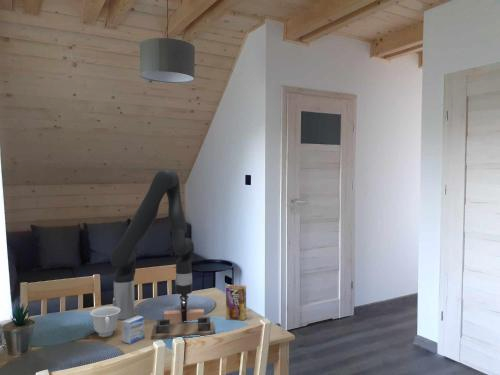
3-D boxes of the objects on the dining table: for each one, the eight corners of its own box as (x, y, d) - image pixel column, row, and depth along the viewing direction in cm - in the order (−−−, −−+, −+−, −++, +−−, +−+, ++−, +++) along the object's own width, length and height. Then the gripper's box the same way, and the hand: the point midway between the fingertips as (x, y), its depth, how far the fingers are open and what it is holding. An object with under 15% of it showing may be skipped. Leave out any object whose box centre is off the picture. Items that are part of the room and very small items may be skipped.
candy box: (246, 317, 192) (246, 285, 192) (244, 320, 188) (244, 287, 187) (228, 315, 194) (228, 284, 193) (225, 319, 190) (225, 286, 189)
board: (151, 339, 167) (151, 328, 167) (153, 328, 179) (153, 318, 179) (215, 335, 171) (214, 325, 170) (213, 325, 183) (213, 315, 182)
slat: (163, 323, 184) (163, 313, 184) (164, 320, 188) (164, 310, 188) (204, 321, 187) (203, 311, 187) (203, 318, 191) (203, 308, 191)
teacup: (91, 345, 162) (91, 320, 161) (90, 331, 176) (89, 308, 175) (123, 339, 167) (122, 315, 166) (119, 327, 180) (119, 304, 180)
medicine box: (130, 344, 162) (129, 323, 162) (122, 342, 165) (122, 320, 164) (144, 337, 169) (144, 316, 169) (137, 335, 171) (137, 314, 171)
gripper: (176, 278, 193) (176, 314, 194) (174, 287, 179) (175, 325, 180) (192, 277, 194) (192, 313, 195) (192, 286, 180) (192, 324, 181)
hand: (184, 319), depth 188 cm, fingers closed on slat, 4 cm apart
